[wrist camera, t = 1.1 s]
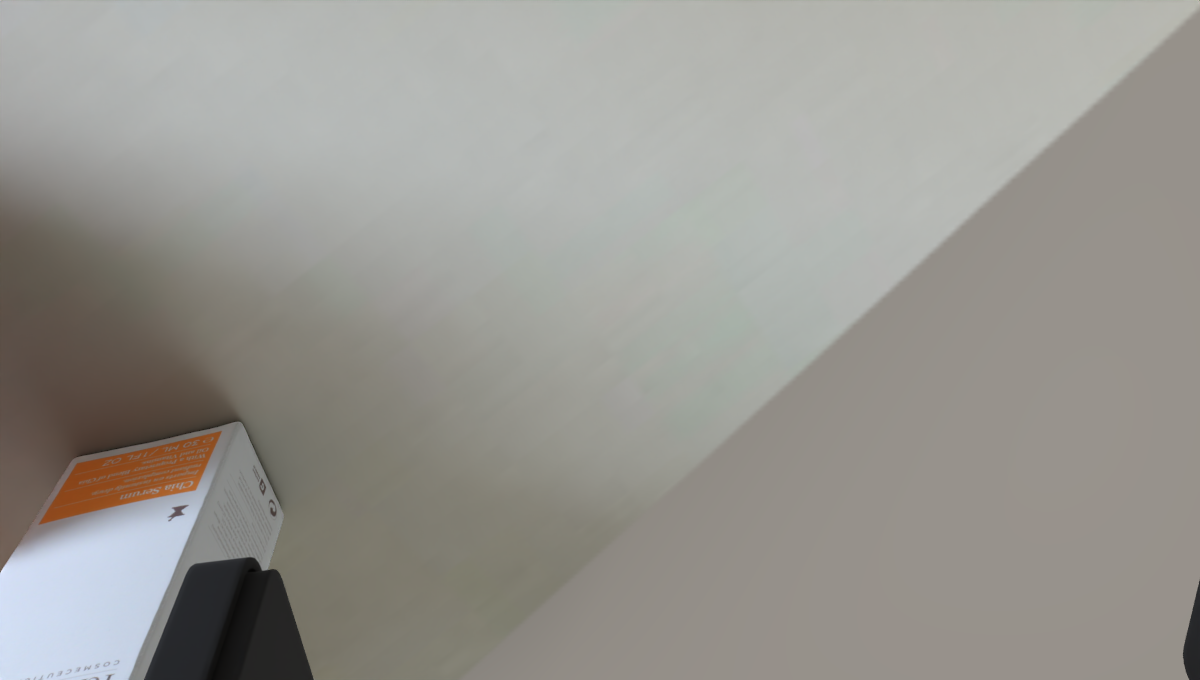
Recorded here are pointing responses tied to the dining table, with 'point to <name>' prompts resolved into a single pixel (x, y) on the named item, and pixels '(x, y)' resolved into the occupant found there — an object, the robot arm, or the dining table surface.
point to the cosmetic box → (128, 552)
